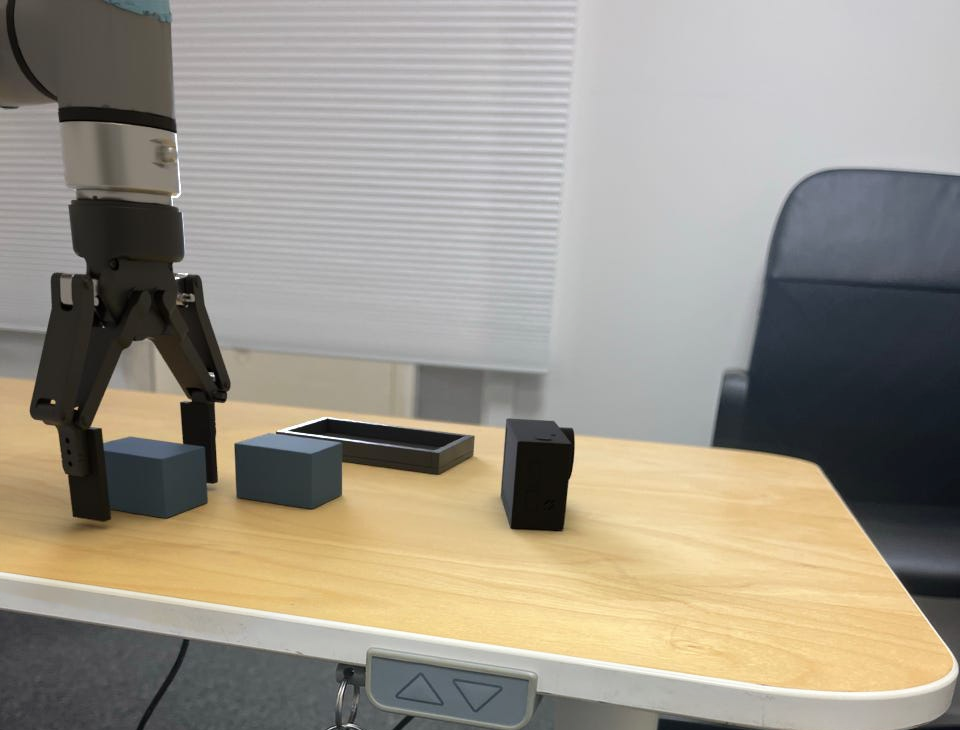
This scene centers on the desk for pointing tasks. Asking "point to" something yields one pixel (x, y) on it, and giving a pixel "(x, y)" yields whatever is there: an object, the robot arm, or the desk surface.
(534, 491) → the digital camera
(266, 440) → the blue-grey rectangular block
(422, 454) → the tray
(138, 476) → the blue block
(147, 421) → the desk surface
